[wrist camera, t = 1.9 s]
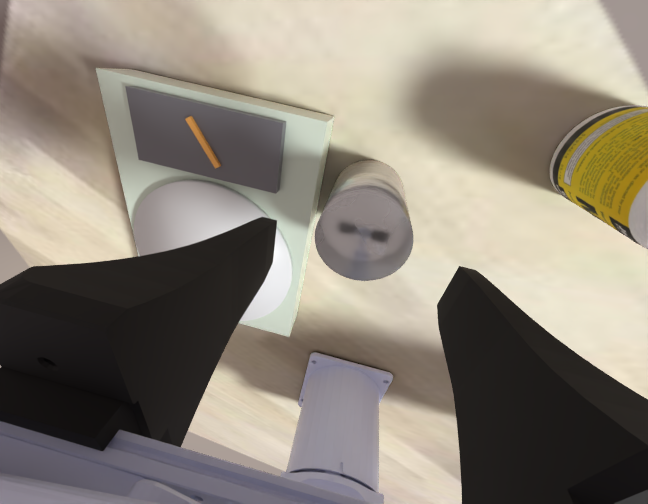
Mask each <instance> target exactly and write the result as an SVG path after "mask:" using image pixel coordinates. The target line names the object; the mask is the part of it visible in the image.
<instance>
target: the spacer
mask: <svg viewBox="0 0 648 504" xmlns="http://www.w3.org/2000/svg"><path fill="white" fill-rule="evenodd" d="M315 244H316V248H317V251H318V253H319V255H320V257H321V258H322V260H323V261H324V263H325V264H326V265H327V266H328V267H329V268H330V269H332V270H333V271H334V272H336V273H338V274H340V275H342V276H344V277H346V278H350V279H354V280H361V281H369V280H376V279H381V278H384V277H386V276H388V275H391V274H392V273H394V272H395V271H397V270H398V269H399V268H400V267H401V266H402V265H403V264H404V263H405V262H406V260H407V259H408V257H409V255H410V253H411V250H412V246H413V231H412V226H411V221H410V217H409V212H408V207H407V203H406V198H405V193H404V189H403V184H402V181H401V179H400V177H399V175H398V174H397V173H396V171H395V170H394V169H393V168H391V167H390V166H389V165H387V164H385V163H383V162H380V161H376V160H362V161H358V162H355V163H353V164H351V165H349V166H348V167H347V168H345V169H344V170H343V171H342V172H341V174H340V175H339V176H338V178H337V180H336V182H335V184H334V187H333V189H332V191H331V194H330V196H329V198H328V200H327V203H326V205H325V207H324V210H323V212H322V214H321V216H320V219H319V221H318V223H317V226H316V230H315Z"/></svg>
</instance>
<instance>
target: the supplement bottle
mask: <svg viewBox="0 0 648 504" xmlns="http://www.w3.org/2000/svg"><path fill="white" fill-rule="evenodd" d="M550 179H551V182H552V184H553V186H554V188H555V189H556V190H557V191H558V192H559V193H560V194H561V195H562V196H564V197H565V198H566V199H568V200H570V201H571V202H573V203H575V204H576V205H578V206H579V207H581V208H583V209H584V210H586V211H587V212H589V213H590V214H592V215H593V216H595V217H597V218H598V219H600V220H602V221H603V222H605V223H607V224H608V225H610V226H611V227H613V228H614V229H616V230H617V231H619V232H620V233H622V234H623V235H625V236H627V237H628V238H630V239H631V240H633V241H634V242H636V243H637V244H639V245H641V246H643V247H645V248H647V249H648V107H647V106H634V105H630V106H620V107H615V108H611V109H608V110H604V111H602V112H599V113H597V114H595V115H593V116H591V117H589V118H587V119H586V120H584V121H583V122H581V123H580V124H578V125H577V126H576V127H575V128H573V129H572V130H571V131H570V132H569V133H568V134H567V135H566V136H565V137H564V139H563V140H562V141H561V143H560V144H559V145H558V147H557V149H556V151H555V153H554V155H553V158H552V160H551V164H550Z"/></svg>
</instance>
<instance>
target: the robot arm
mask: <svg viewBox="0 0 648 504" xmlns="http://www.w3.org/2000/svg"><path fill="white" fill-rule="evenodd" d="M276 227H277V220H273V219H270V218H266V217H260V218H257V219H255V220H252V221H250V222H248V223H246V224H243V225H241V226H239V227H236V228H234V229H232V230H229V231H227V232H224V233H222V234H219V235H216V236H214V237H211V238H208V239H206V240H203V241H200V242H197V243H194V244H191V245H187V246H183V247H180V248H176V249H172V250H168V251H163V252H158V253H153V254H148V255H143V256H138V257H132V258H125V259H119V260H111V261H102V262H93V263H82V264H67V265H53V266H34V267H31V268H29V269H27V270H25V271H23V272H21V273H20V274H18V275H16V276H15V277H13V278H11V279H9V280H7V281H5V282H4V283H2V284H0V365H1V366H2V367H1V368H0V504H384V495H383V494H380V493H379V403H380V401H381V399H382V398H383V396H384V394H385V392H386V391H387V389H388V387H389V385H390V384H391V382H392V380H393V375H392V374H391V373H390V372H386V371H383V370H379V369H375V368H371V367H368V366H364V365H360V364H357V363H353V362H349V361H346V360H342V359H338V358H335V357H331V356H327V355H323V354H320V353H316V352H314V353H311V355H310V359H309V362H308V366H307V370H306V374H305V378H304V382H303V386H302V390H301V394H300V398H299V402H298V405H299V406H300V407H302V408H301V412H300V416H299V420H298V424H297V429H296V433H295V437H294V441H293V445H292V449H291V454H290V458H289V462H288V466H287V470H286V472H284V471H283V472H281V476H277V475H273V474H270V473H266V472H263V471H260V470H256V469H253V468H250V467H246V466H243V465H239V464H236V463H233V462H229V461H226V460H222V459H219V458H215V457H212V456H209V455H205V454H202V453H198V452H195V451H191V450H188V449H185V448H181V445H182V443H183V440H184V438H185V435H186V433H187V431H188V428H189V426H190V424H191V421H192V419H193V417H194V414H195V412H196V410H197V407H198V405H199V403H200V401H201V398H202V396H203V394H204V392H205V389H206V387H207V385H208V383H209V381H210V378H211V376H212V374H213V372H214V370H215V368H216V366H217V363H218V361H219V359H220V357H221V355H222V353H223V351H224V349H225V347H226V345H227V343H228V341H229V339H230V337H231V335H232V333H233V331H234V329H235V328H236V326H237V324H238V323H239V321H240V319H241V318H242V316H243V315H244V313H245V312H246V310H247V308H248V307H249V305H250V304H251V302H252V301H253V299H254V297H255V296H256V294H257V293H258V291H259V289H260V288H261V286H262V285H263V283H264V281H265V279H266V277H267V275H268V272H269V270H270V268H271V266H272V263H273V257H274V247H275V237H276ZM437 309H438V324H439V331H440V335H441V340H442V344H443V349H444V353H445V357H446V361H447V366H448V370H449V374H450V378H451V383H452V388H453V393H454V401H455V409H456V418H457V427H458V438H459V450H460V466H461V483H462V504H648V400H647V399H646V398H644V397H642V396H641V395H639V394H637V393H636V392H634V391H632V390H631V389H629V388H628V387H626V386H624V385H623V384H621V383H620V382H618V381H617V380H615V379H614V378H612V377H610V376H609V375H607V374H606V373H604V372H603V371H601V370H600V369H598V368H597V367H595V366H594V365H592V364H591V363H589V362H588V361H586V360H585V359H583V358H582V357H581V356H579V355H578V354H577V353H575V352H574V351H572V350H571V349H570V348H568V347H567V346H566V345H564V344H563V343H561V342H560V341H559V340H558V339H556V338H555V337H554V336H552V335H551V334H550V333H549V332H547V331H546V330H545V329H544V328H542V327H541V326H540V325H539V324H538V323H536V322H535V321H534V320H533V319H532V318H530V317H529V316H528V315H527V314H526V313H525V312H523V311H522V310H521V309H520V308H519V307H518V306H517V305H515V304H514V303H513V302H512V301H511V300H510V299H509V298H508V297H507V296H505V295H504V294H503V293H502V292H501V291H500V290H499V289H498V288H497V287H495V286H494V285H493V284H492V283H491V282H490V281H489V280H487V279H486V278H485V277H484V276H483V275H481V274H480V273H479V272H477V271H476V270H473V269H469V268H465V267H461V266H459V268H458V270H457V271H456V273H455V275H454V276H453V278H452V280H451V282H450V283H449V285H448V287H447V289H446V290H445V292H444V294H443V296H442V297H441V299H440V301H439V302H438V304H437Z"/></svg>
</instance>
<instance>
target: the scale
mask: <svg viewBox="0 0 648 504" xmlns="http://www.w3.org/2000/svg"><path fill="white" fill-rule="evenodd" d="M95 69H96V73H97V78H98V82H99V86H100V91H101V95H102V99H103V104H104V108H105V113H106V117H107V121H108V126H109V130H110V134H111V139H112V143H113V148H114V152H115V156H116V161H117V165H118V169H119V174H120V178H121V183H122V187H123V191H124V196H125V200H126V204H127V209H128V213H129V218H130V222H131V226H132V231H133V235H134V239H135V244H136V248H137V253H138V256H143V255H148V254H153V253H158V252H163V251H168V250H172V249H176V248H180V247H183V246H187V245H191V244H194V243H197V242H200V241H203V240H206V239H208V238H211V237H214V236H216V235H219V234H222V233H224V232H227V231H229V230H232V229H234V228H236V227H239V226H241V225H243V224H246V223H248V222H250V221H252V220H255V219H257V218H260V217H266V218H270V219H273V220H277V227H276V237H275V247H274V257H273V263H272V266H271V268H270V270H269V272H268V275H267V277H266V279H265V281H264V283H263V285H262V286H261V288H260V289H259V291H258V293H257V294H256V296H255V297H254V299H253V301H252V302H251V304H250V305H249V307H248V308H247V310H246V312H245V313H244V315H243V316H242V318H241V319H240V321H239V324H243V325H247V326H250V327H254V328H258V329H262V330H265V331H269V332H273V333H276V334H280V335H284V336H288V337H289V336H290V333H291V331H292V328H293V325H294V322H295V319H296V316H297V313H298V307H299V302H300V297H301V291H302V286H303V281H304V276H305V270H306V265H307V260H308V254H309V249H310V244H311V238H312V233H313V228H314V222H315V217H316V212H317V207H318V201H319V196H320V191H321V185H322V180H323V175H324V169H325V164H326V159H327V153H328V148H329V143H330V138H331V132H332V127H333V122H334V116H331V115H327V114H323V113H318V112H314V111H310V110H305V109H301V108H297V107H292V106H288V105H284V104H280V103H275V102H271V101H267V100H262V99H258V98H254V97H249V96H245V95H241V94H237V93H232V92H228V91H224V90H219V89H215V88H211V87H206V86H202V85H198V84H194V83H189V82H185V81H181V80H176V79H172V78H168V77H163V76H159V75H155V74H151V73H146V72H142V71H138V70H133V69H112V68H95Z"/></svg>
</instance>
